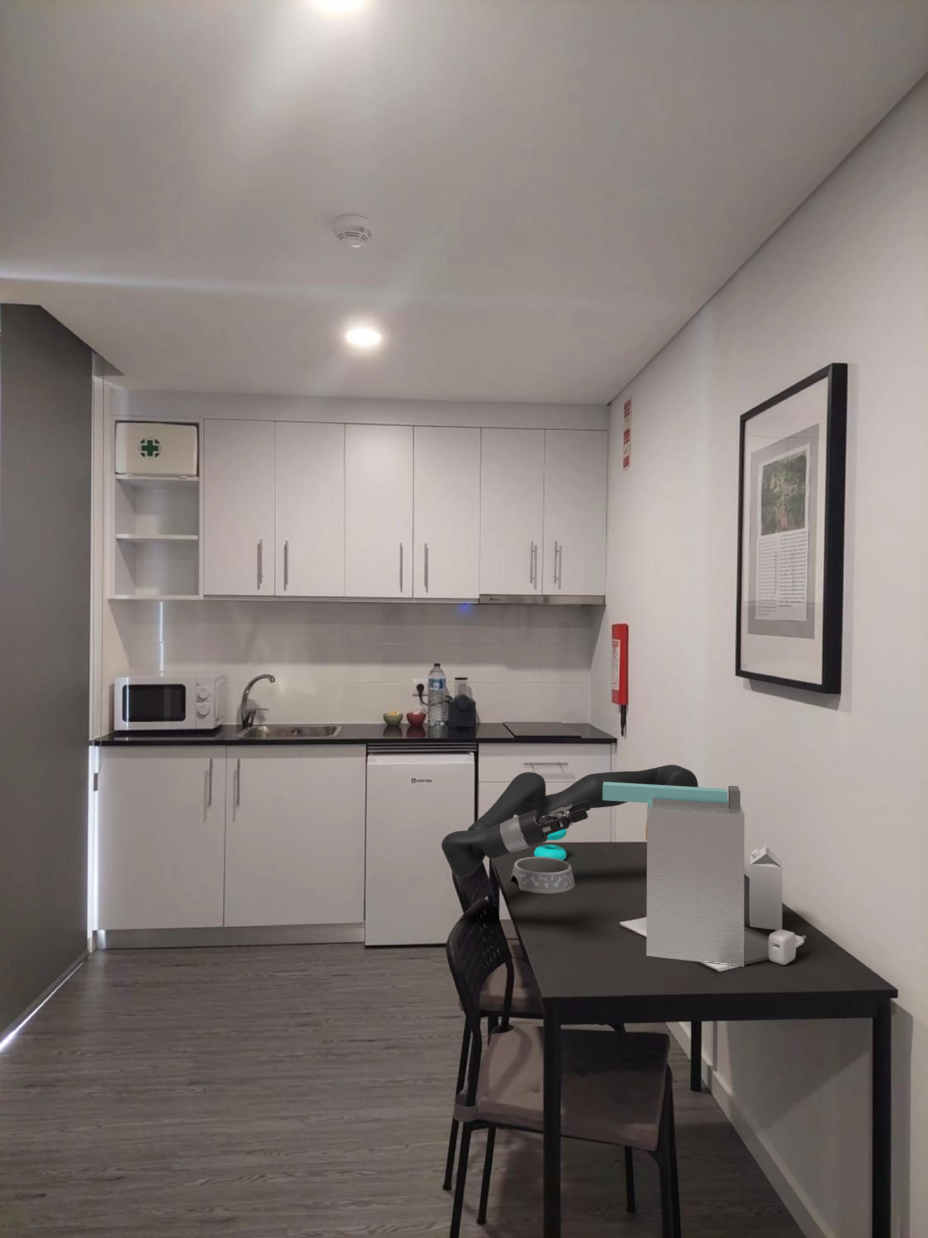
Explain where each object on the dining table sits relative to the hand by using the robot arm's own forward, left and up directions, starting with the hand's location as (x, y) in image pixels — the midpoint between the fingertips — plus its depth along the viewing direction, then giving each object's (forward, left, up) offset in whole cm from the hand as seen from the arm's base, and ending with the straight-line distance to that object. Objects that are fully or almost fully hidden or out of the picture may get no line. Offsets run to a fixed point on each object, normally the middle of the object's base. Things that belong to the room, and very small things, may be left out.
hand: (588, 808), depth 179 cm
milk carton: (-42, +18, -30) cm, 55 cm away
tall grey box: (-16, +17, -30) cm, 38 cm away
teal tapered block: (-11, +12, +2) cm, 17 cm away
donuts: (-35, -52, -30) cm, 69 cm away
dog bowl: (-18, -36, -30) cm, 50 cm away
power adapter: (-29, +32, -30) cm, 52 cm away
